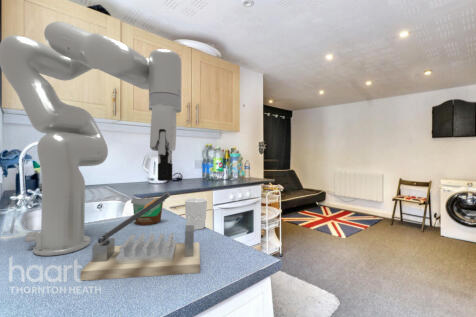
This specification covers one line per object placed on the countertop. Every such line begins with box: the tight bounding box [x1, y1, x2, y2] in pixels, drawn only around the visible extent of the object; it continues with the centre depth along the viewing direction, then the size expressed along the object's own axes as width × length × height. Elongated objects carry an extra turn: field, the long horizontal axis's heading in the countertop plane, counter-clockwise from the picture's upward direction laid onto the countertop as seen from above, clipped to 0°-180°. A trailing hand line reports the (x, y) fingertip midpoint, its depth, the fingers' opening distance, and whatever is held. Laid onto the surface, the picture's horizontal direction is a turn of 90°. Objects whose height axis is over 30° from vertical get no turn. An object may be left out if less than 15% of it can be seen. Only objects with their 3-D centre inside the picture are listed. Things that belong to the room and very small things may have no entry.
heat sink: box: [91, 225, 195, 265], centre depth 55 cm, size 22×9×6 cm, turn 100°
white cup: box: [184, 197, 208, 231], centre depth 84 cm, size 8×8×10 cm
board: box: [79, 241, 201, 281], centre depth 55 cm, size 24×13×2 cm, turn 100°
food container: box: [130, 196, 166, 226], centre depth 87 cm, size 12×6×10 cm, turn 106°
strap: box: [97, 191, 171, 243], centre depth 55 cm, size 18×4×2 cm
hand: (165, 180), depth 56 cm, fingers closed
